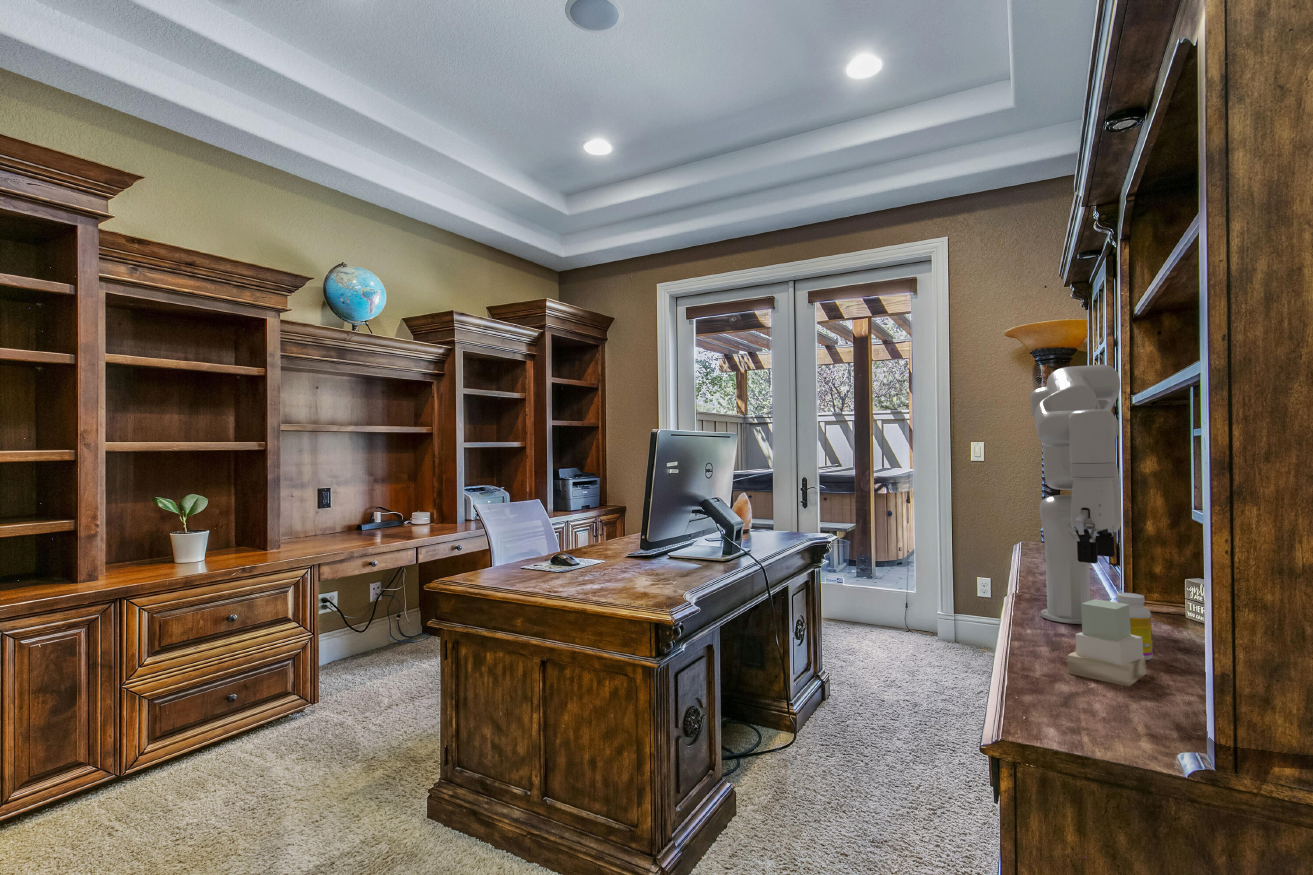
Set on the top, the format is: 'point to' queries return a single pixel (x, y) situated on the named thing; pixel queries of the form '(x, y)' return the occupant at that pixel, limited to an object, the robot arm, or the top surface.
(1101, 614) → the stack block
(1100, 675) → the tower base block
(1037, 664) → the top surface
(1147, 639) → the supplement bottle
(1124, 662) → the tower top block
